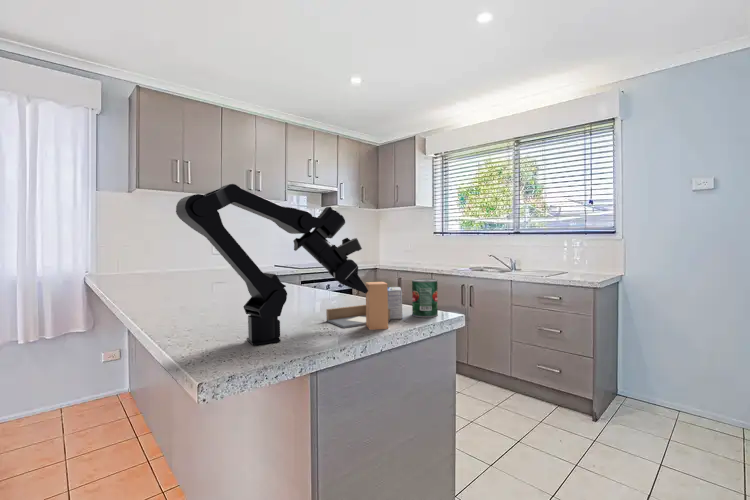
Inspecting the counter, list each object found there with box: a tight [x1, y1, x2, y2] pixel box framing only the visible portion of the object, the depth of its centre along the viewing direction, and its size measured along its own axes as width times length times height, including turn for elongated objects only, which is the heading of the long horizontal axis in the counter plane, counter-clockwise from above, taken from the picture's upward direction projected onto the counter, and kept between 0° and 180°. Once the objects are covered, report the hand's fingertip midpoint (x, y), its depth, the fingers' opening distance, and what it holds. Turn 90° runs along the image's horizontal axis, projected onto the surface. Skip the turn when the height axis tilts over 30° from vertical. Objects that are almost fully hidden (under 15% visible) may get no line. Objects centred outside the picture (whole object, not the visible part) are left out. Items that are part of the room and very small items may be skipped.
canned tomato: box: [411, 278, 439, 318], centre depth 124 cm, size 8×8×11 cm
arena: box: [325, 304, 391, 329], centre depth 116 cm, size 15×11×4 cm
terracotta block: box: [365, 281, 389, 331], centre depth 109 cm, size 5×5×12 cm
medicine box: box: [388, 286, 403, 320], centre depth 123 cm, size 8×4×9 cm, turn 179°
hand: (363, 289), depth 108 cm, fingers open, 9 cm apart
